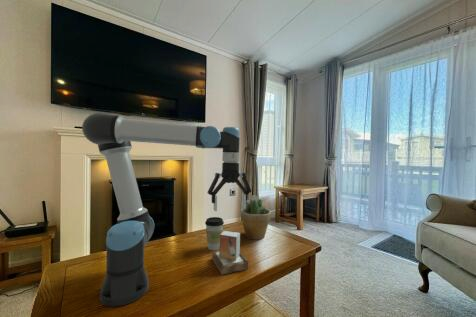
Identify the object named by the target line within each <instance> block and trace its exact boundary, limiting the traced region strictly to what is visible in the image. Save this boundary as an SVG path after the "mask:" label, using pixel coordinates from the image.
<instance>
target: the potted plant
mask: <svg viewBox="0 0 476 317" xmlns="http://www.w3.org/2000/svg"><path fill="white" fill-rule="evenodd" d="M258 197H259V196H257V195H255V194H253V195H251V196H250V199H247V201H246V209H244V208H241V209H240V217H241V220H242V221H241V222H242V226H243V229H244V234H245V236H246V238H248V239H250V240H255V241H257V240H263V239H264V238H265V235H266V234H267V230H268V226H269V221H270V220H271V214H272V210H270V209H268V208H266V206H264V204H263V199H261V198H258Z"/></svg>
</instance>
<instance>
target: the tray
mask: <svg viewBox="0 0 476 317" xmlns="http://www.w3.org/2000/svg"><path fill="white" fill-rule="evenodd" d="M211 257H212V258H211V259H212V261H213V262H214V265H215V266H216V268H217V270H218V271H219V273H220V274H221V275H226V274H230V273H235V272H242V271H246V270H249V260H248V258H247V257H246V256H245V255H244V254H243V253H242V252H241V251H240V255H239V257H238V258H237V260H236V261H234V260H230V259H225V258H219V251H218V250H217V251H214V252H212V256H211Z"/></svg>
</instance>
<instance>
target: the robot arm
mask: <svg viewBox="0 0 476 317" xmlns="http://www.w3.org/2000/svg"><path fill="white" fill-rule="evenodd" d="M81 129H82V133H83V136H84V137H85V138H86V140H88V141H89V142H91V143H93V144H95V145H97V148H98V151H99V154H101V155H103V156H104V157H105V160H106V164H107V168H108V171H109V172H108V173H109V175H110V180H111V183H112V187H113V191H114V194H115V198H116V202H117V207H118V210H119V215H118V217H117V219H116V220H117V223H116V224H114V225H112V226H111V227H110V228H109V229H108V231H107V233H106V238H105V239H106V240H105V245H106V254H105V255H106V256H105V257H106V260H105V261H106V263H105V264H106V265H105V266H106V271H105V272H106V274H105V276H104V280H103V283H102V285H101V289H100V291H99V301H100V303H101V304H102V305H104V306H106V307H111V308H112V307H121V306H122V307H123V306H125V305H128V304H129V305H130V304H131V303H134V302H136V301H137V300H139V299H141V298H142V297H143V296H144V295H146V293H147V292H148V290H149V285H150V284H149V282H150V280H149V277H148V273H147V271H146V268H145V266H144V264H145V263H144V262H145V261H144V259H145V247H146V246H147V245H148V241H150V239H151V238H152V236H153V234H154V230H155V222H154V220H153V218H152V217H151V216H150V214H149V210H148V209H147V208H146V207H144V206H143V202H142V198H141V194H140V190H139V185H138V182H137V179H136V174H135V170H134V167H133V163H132V158H131V154H130V151H131V149H132V148H133V147H132V142H136V143H149V144H162V145H163V144H165V145H175V146H176V145H179V146H190V147H195V148H198V149H220V150H221V149H222V155H221V156H222V157H221V158H222V159H221V160H222V165H221V168H222V169H221V173H218V172H215V173H214V178H213V180H212V182H211V184H210V186H209V188H208V190H207V194H208V195H210V196H211V203H212V204H213V211H214V212H217V211H218V195H217V194H218V193H219V191H220V190H221V189H222V188H223V187H224V186H225V184H230V183H231V184H234V183H235V184H236V185H237V186H238V187H239V189H240V190H241V191H242V193H241V209H246V201H247V200H248V195H249V193H252V188H251V187H250V184H249V182H248V180H247V178H246V173H245V172H239V171H240V163H239V161H240V139H241V137H240V129H239V128H238V127H235V126H226V127H225V126H224V127H223V128H222V131H220V129H218V128H217V127H216V126H214V125H213V126H212V125H207V126H201V125H200V126H198V125H192V124H191V125H189V124H178V123H168V122H158V121H157V122H156V121H148V120H147V121H145V120H136V119H126V118H124V116H123V115H115V114H109V113H105V112H96V113H92V114H89V115H87V117H86V118H85V119H84V120H83V122H82V126H81ZM239 177H240V178H241V181H242V182H243V183H241V181H240V180H239ZM220 178H221V181H220V182H219V183H218V181H219V179H220ZM217 183H218V184H217Z"/></svg>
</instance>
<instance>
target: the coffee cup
mask: <svg viewBox="0 0 476 317" xmlns="http://www.w3.org/2000/svg"><path fill="white" fill-rule="evenodd" d="M224 223H225V222H224V221H223V218H222V217H219V216H213V217H211V216H210V217H208V218H206V219H205V223H204V224H205V228H206V229H205V230H206V231H205V233H206V240H207V249H208V250H209V251H218V250H220V234H221V233H222V232H223V231H224V230H223V226H224V225H225V224H224Z"/></svg>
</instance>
